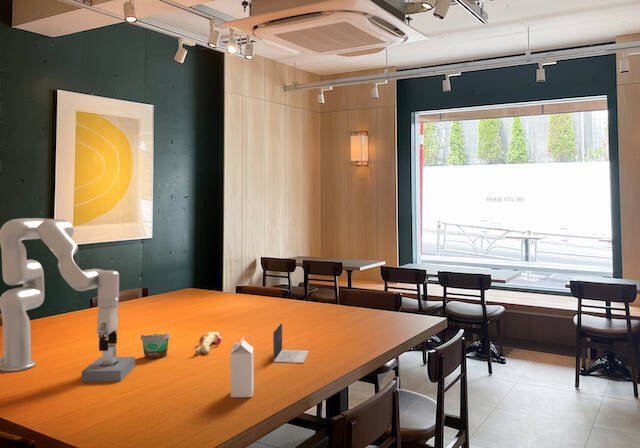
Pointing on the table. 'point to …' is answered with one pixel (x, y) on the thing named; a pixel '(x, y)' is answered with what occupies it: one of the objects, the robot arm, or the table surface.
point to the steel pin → (109, 356)
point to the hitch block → (108, 370)
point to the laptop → (285, 355)
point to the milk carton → (242, 370)
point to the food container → (155, 345)
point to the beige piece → (208, 342)
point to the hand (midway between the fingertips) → (108, 347)
